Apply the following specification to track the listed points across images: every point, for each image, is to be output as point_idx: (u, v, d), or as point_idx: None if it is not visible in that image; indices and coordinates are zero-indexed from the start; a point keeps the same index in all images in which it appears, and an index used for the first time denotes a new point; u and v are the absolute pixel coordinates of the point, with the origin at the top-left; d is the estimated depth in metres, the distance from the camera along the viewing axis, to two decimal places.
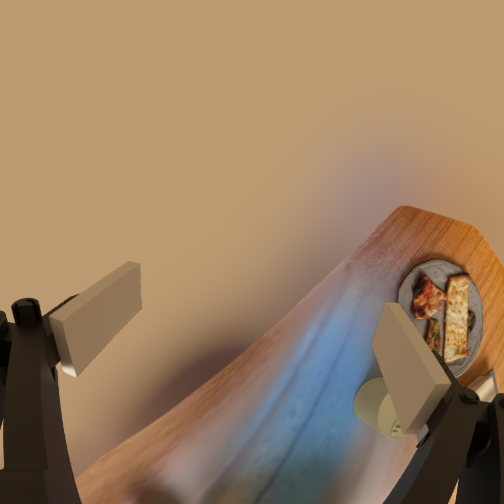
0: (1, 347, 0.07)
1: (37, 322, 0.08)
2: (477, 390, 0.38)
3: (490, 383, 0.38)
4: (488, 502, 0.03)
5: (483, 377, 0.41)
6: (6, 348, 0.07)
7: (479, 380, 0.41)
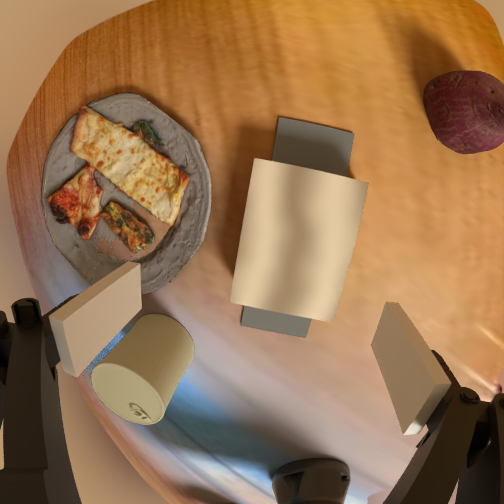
0: (2, 347, 0.07)
1: (37, 322, 0.08)
2: (247, 214, 0.26)
3: (267, 171, 0.25)
4: (488, 502, 0.03)
5: None
6: (7, 348, 0.07)
7: None
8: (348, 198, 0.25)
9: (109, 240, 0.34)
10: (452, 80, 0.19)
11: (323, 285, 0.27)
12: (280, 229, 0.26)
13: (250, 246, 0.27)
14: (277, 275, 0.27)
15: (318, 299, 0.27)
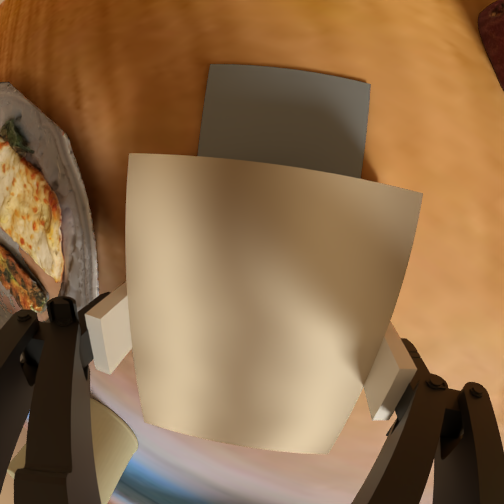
0: (32, 347, 0.08)
1: (73, 321, 0.09)
2: (133, 284, 0.11)
3: (159, 182, 0.10)
4: (467, 495, 0.03)
5: None
6: (39, 347, 0.08)
7: None
8: (372, 235, 0.09)
9: (8, 295, 0.19)
10: None
11: (310, 413, 0.12)
12: (206, 316, 0.11)
13: (152, 347, 0.12)
14: (214, 397, 0.12)
15: (301, 430, 0.12)
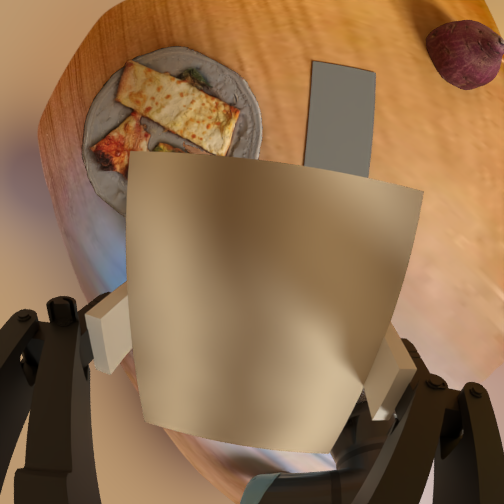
0: (33, 347, 0.08)
1: (73, 321, 0.09)
2: (133, 282, 0.11)
3: (160, 179, 0.10)
4: (467, 494, 0.03)
5: None
6: (38, 347, 0.08)
7: None
8: (374, 233, 0.09)
9: None
10: (448, 28, 0.20)
11: (311, 412, 0.12)
12: (207, 315, 0.11)
13: (153, 346, 0.12)
14: (215, 396, 0.12)
15: (302, 429, 0.12)
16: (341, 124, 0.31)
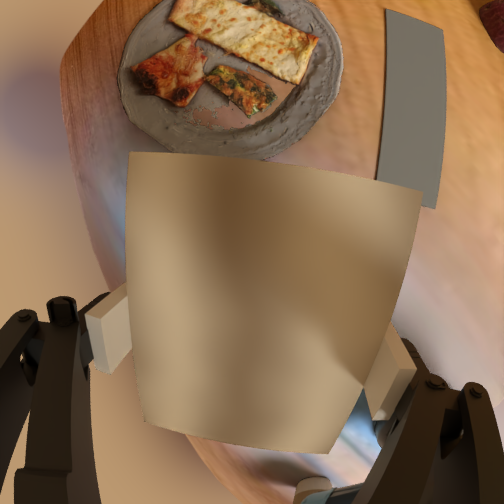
0: (32, 347, 0.08)
1: (73, 321, 0.09)
2: (133, 283, 0.11)
3: (159, 180, 0.10)
4: (467, 494, 0.03)
5: None
6: (39, 347, 0.08)
7: None
8: (373, 233, 0.09)
9: (212, 108, 0.28)
10: (501, 2, 0.13)
11: (310, 412, 0.12)
12: (206, 315, 0.11)
13: (152, 346, 0.12)
14: (214, 397, 0.12)
15: (302, 430, 0.12)
16: (418, 69, 0.24)
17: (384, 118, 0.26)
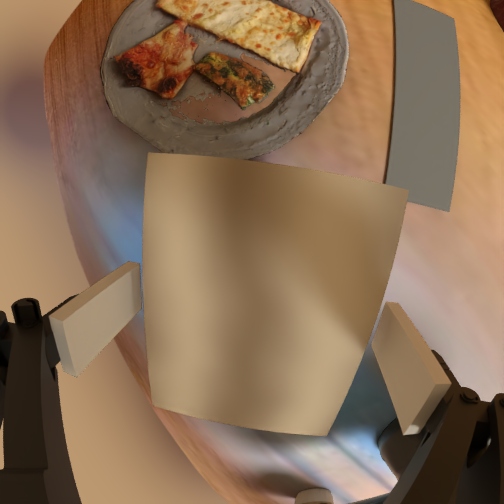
0: (1, 347, 0.07)
1: (37, 322, 0.08)
2: (148, 271, 0.12)
3: (175, 178, 0.11)
4: (488, 502, 0.03)
5: None
6: (7, 348, 0.07)
7: None
8: (364, 227, 0.11)
9: (202, 99, 0.25)
10: None
11: (309, 393, 0.13)
12: (215, 300, 0.12)
13: (164, 330, 0.13)
14: (221, 378, 0.13)
15: (301, 411, 0.14)
16: (429, 59, 0.20)
17: (394, 111, 0.23)
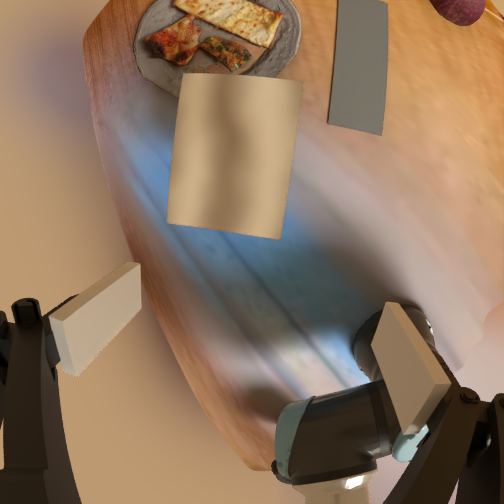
0: (2, 347, 0.07)
1: (37, 322, 0.08)
2: (178, 126, 0.23)
3: (196, 83, 0.22)
4: (488, 502, 0.03)
5: None
6: (7, 348, 0.07)
7: None
8: (281, 98, 0.22)
9: (204, 66, 0.35)
10: None
11: (263, 195, 0.24)
12: (211, 136, 0.23)
13: (182, 159, 0.24)
14: (212, 187, 0.25)
15: (260, 212, 0.25)
16: (363, 33, 0.31)
17: (334, 68, 0.33)
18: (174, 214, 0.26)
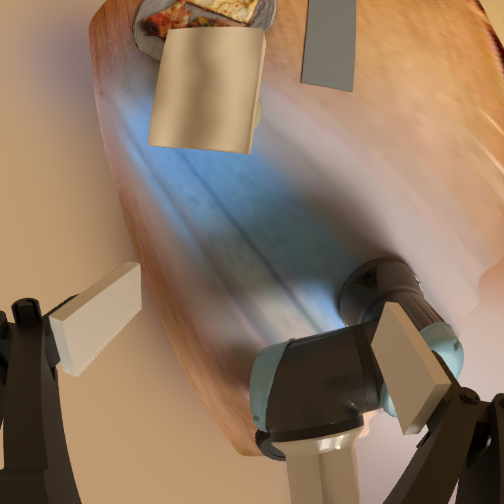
0: (1, 347, 0.07)
1: (37, 322, 0.08)
2: (162, 67, 0.25)
3: (177, 35, 0.24)
4: (488, 502, 0.03)
5: None
6: (6, 348, 0.07)
7: None
8: (244, 40, 0.23)
9: None
10: None
11: (229, 114, 0.26)
12: (188, 72, 0.25)
13: (164, 91, 0.26)
14: (186, 111, 0.26)
15: (227, 128, 0.26)
16: (332, 8, 0.33)
17: (306, 37, 0.36)
18: (154, 137, 0.27)
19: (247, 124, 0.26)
